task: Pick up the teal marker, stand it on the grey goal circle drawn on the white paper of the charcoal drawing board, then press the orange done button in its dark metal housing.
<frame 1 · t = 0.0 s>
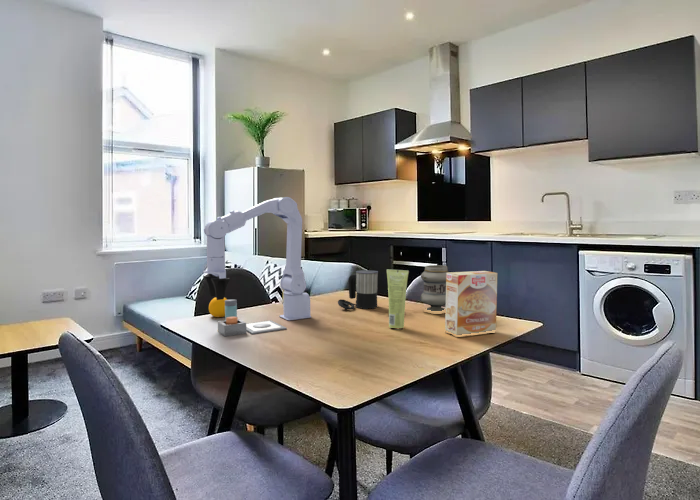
hand: (216, 297, 151), 10 cm above the table, fingers open, 7 cm apart
tube: (396, 328, 151), on the table
drawing board: (261, 327, 152), on the table
coffeecake box: (470, 333, 145), on the table
apple: (219, 317, 169), on the table
milk frother: (358, 308, 185), on the table
done button: (231, 321, 145), point 4 cm above the table, slide at 0.0 cm
apothecary jar: (436, 312, 177), on the table
supplement bottle: (289, 304, 193), on the table
marker: (231, 323, 159), on the table
button housing: (232, 332, 145), on the table
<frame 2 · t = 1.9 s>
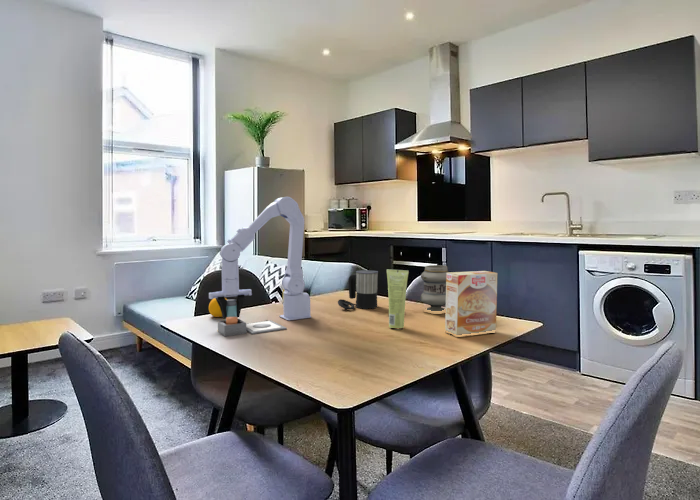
hand: (231, 317, 158), 2 cm above the table, fingers closed on marker, 4 cm apart
marker: (231, 323, 159), on the table, touching gripper
everything else where it was.
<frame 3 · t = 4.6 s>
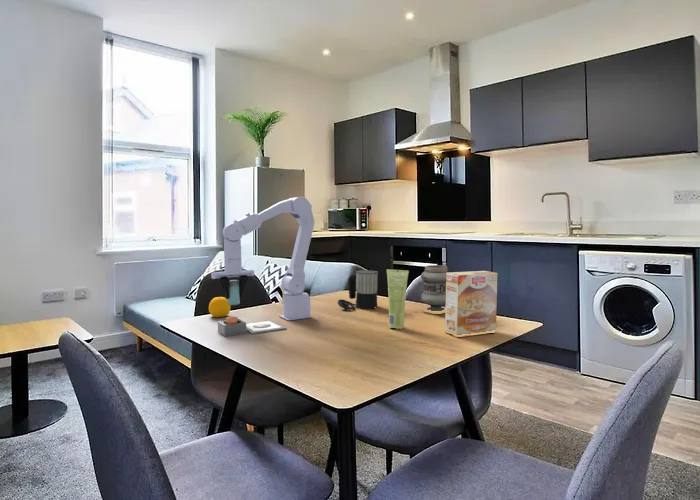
hand: (233, 298, 157), 9 cm above the table, fingers closed on marker, 4 cm apart
marker: (233, 303, 157), point 7 cm above the table, touching gripper
everything else where it was.
when the fingers open (4 cm above the table, at t = 7.3 s): marker stays where it is, resting on drawing board.
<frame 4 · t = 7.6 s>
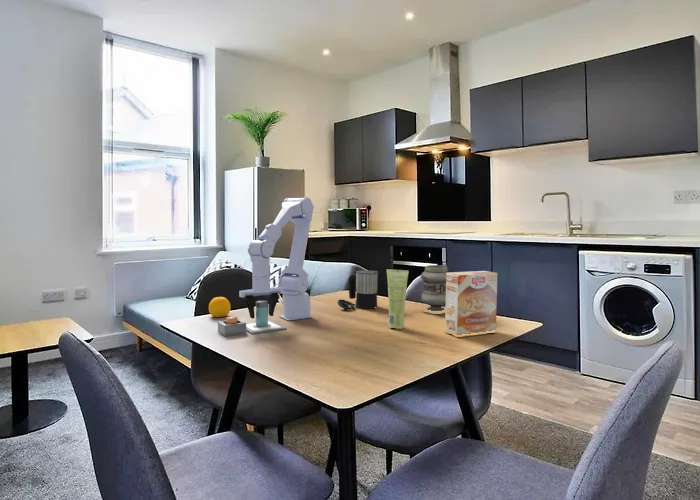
hand: (261, 316, 152), 4 cm above the table, fingers open, 6 cm apart
marker: (261, 325, 152), point 1 cm above the table, touching drawing board
everything else where it was.
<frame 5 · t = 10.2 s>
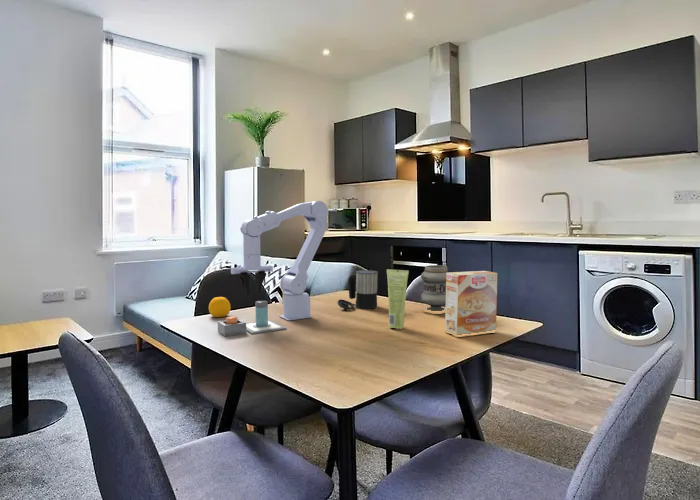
hand: (252, 293, 158), 10 cm above the table, fingers open, 3 cm apart
nothing on the table moved.
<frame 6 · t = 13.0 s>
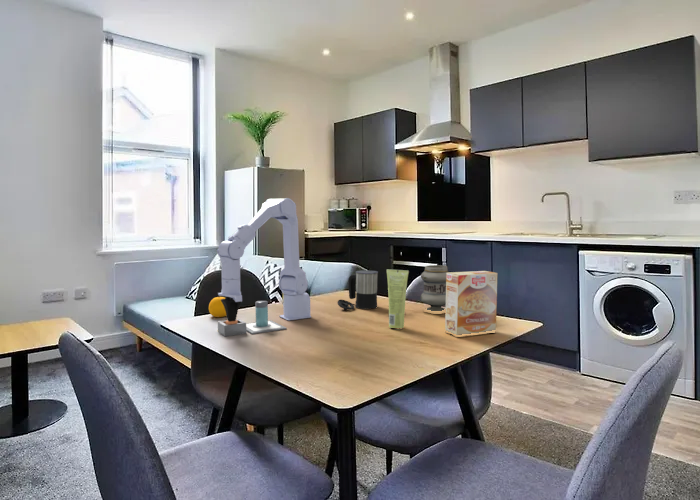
hand: (231, 320, 145), 4 cm above the table, fingers closed, pressing on done button
done button: (231, 324, 145), point 3 cm above the table, slide at 1.0 cm, touching gripper
everything else where it was.
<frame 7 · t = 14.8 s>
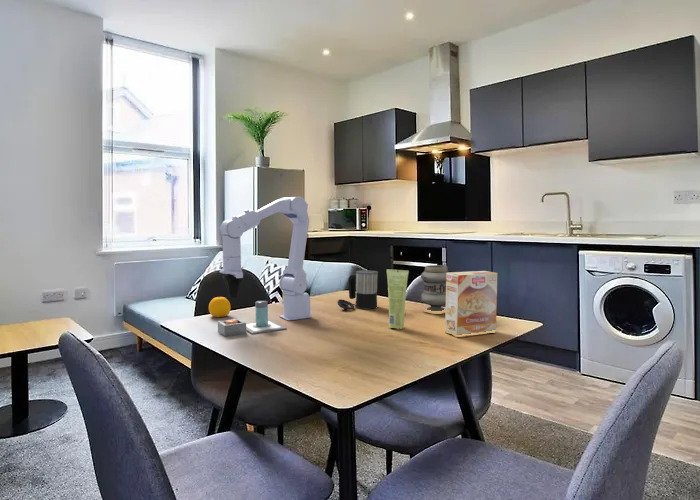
hand: (232, 297, 151), 10 cm above the table, fingers closed
done button: (231, 324, 145), point 3 cm above the table, slide at 1.1 cm
everything else where it was.
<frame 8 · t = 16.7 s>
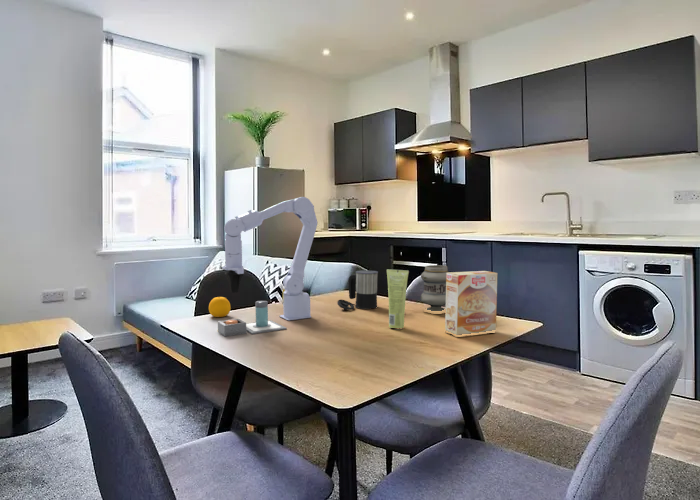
hand: (234, 292, 161), 10 cm above the table, fingers closed
nothing on the table moved.
at the end: marker inside the target area on the drawing board (0.0 cm from its centre), point 0.7 cm above the drawing board's base; marker tilted 0°; done button slide at 1.1 cm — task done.
